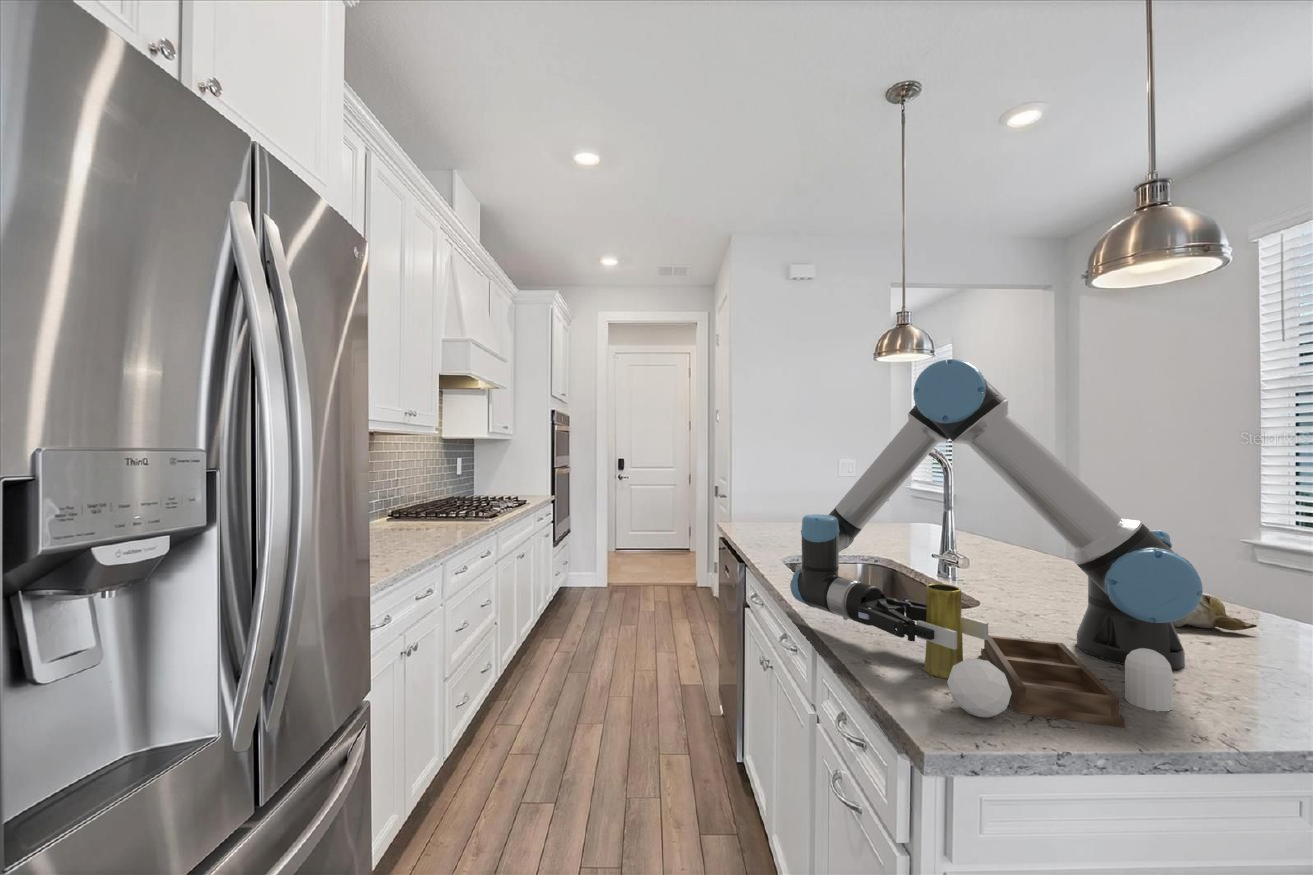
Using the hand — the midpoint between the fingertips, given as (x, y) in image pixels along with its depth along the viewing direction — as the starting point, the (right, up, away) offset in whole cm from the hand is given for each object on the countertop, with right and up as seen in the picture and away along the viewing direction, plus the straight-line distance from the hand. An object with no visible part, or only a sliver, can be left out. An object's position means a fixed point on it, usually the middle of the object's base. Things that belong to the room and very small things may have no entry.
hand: (971, 635), depth 90 cm
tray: (+11, -8, -1) cm, 13 cm away
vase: (-2, -8, +4) cm, 9 cm away
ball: (-5, -8, -10) cm, 14 cm away
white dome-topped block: (+22, -8, -7) cm, 25 cm away
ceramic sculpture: (+64, -8, +28) cm, 70 cm away
